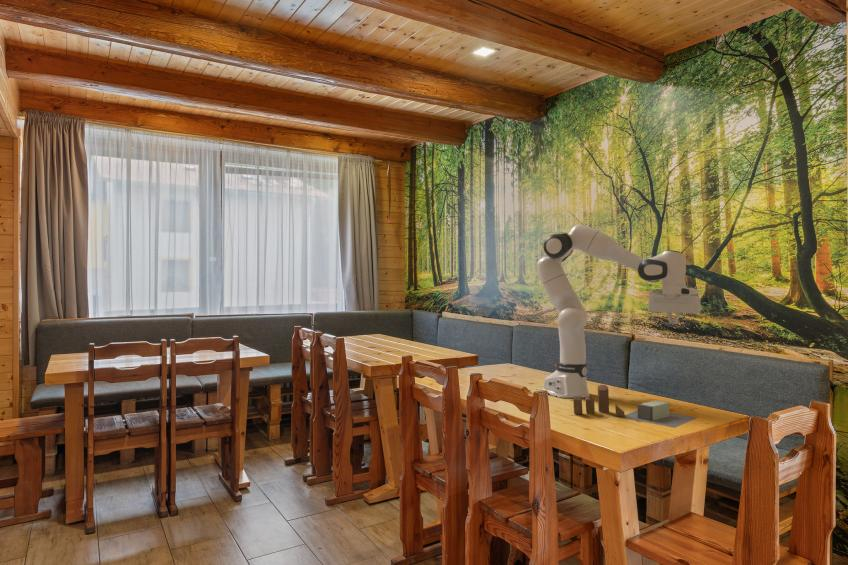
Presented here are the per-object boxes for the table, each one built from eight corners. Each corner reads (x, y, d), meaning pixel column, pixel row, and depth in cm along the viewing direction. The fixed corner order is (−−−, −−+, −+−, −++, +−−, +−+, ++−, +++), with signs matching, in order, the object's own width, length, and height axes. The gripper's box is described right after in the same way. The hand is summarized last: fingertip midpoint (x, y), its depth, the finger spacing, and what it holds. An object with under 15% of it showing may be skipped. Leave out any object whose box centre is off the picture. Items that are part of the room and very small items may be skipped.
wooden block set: (574, 420, 208) (573, 397, 205) (573, 408, 216) (572, 385, 213) (625, 420, 204) (624, 396, 200) (622, 407, 212) (621, 384, 208)
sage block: (656, 413, 209) (637, 418, 202) (656, 400, 209) (637, 404, 202) (669, 416, 204) (650, 421, 198) (669, 402, 204) (650, 407, 198)
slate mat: (619, 418, 204) (619, 416, 204) (644, 409, 217) (644, 408, 217) (674, 429, 189) (674, 427, 189) (697, 419, 203) (697, 417, 203)
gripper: (645, 289, 231) (645, 322, 231) (696, 290, 216) (696, 325, 216) (652, 289, 235) (651, 321, 235) (702, 290, 220) (702, 324, 220)
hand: (673, 323), depth 226 cm, fingers closed
